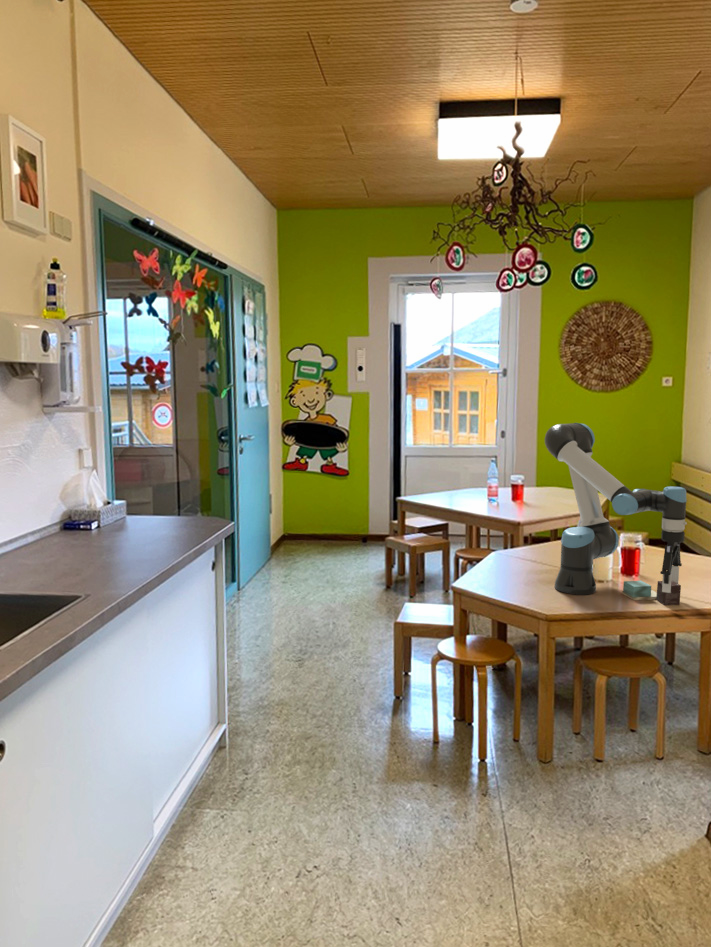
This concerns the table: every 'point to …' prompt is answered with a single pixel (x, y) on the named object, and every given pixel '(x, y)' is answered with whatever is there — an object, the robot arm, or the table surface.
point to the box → (669, 594)
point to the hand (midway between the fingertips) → (670, 587)
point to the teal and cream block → (638, 590)
